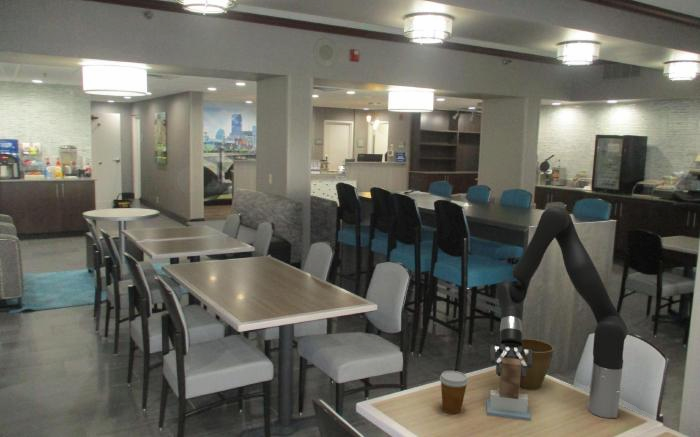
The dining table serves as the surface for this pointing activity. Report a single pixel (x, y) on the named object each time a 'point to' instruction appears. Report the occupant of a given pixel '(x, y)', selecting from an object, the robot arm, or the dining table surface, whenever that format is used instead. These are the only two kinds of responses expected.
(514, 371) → the post
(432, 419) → the dining table surface
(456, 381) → the disposable coffee cup
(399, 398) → the dining table surface
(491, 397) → the butter dish
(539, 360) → the plant pot
